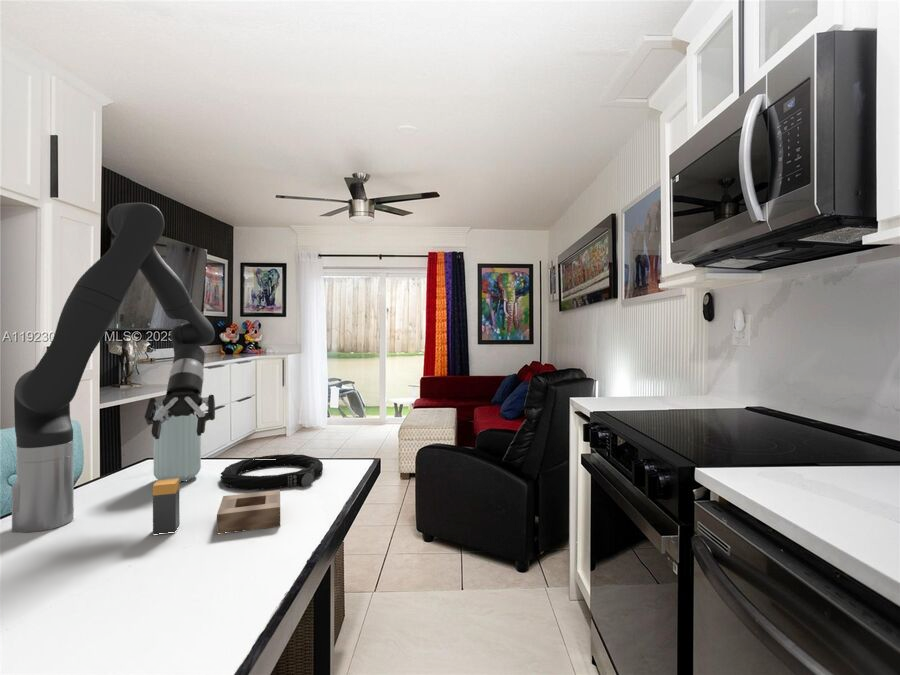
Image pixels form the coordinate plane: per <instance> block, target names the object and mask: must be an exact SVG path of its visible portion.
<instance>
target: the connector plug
mask: <svg viewBox="0 0 900 675" xmlns="http://www.w3.org/2000/svg"><path fill="white" fill-rule="evenodd" d="M180 514H181V513H180V483H179V478H175V479H164V480H158V479H156V481H155V483H154V484H152V535H153V534H159V533H168V532H175V531H176V530H177V531H178V529H179V528H180V526H179V525H180V524H181V523H180V518H181V517H180ZM178 527H179V528H178ZM177 528H178V529H177ZM177 531H176V532H177Z"/></svg>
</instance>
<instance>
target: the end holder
mask: <svg viewBox="0 0 900 675" xmlns="http://www.w3.org/2000/svg"><path fill="white" fill-rule="evenodd" d="M275 527H281V489H277V490H276V489H274V490H267V491H259V492H258V491H257V492H249V493H239V494H230V495H222V499H221V502H220V504H219V508H218V511H217V513H216V534H217V533H224V534H226V533H225V532H232V533H236V532H235V531H239V532H244V531H243V530H247V531H253V530H252V529H255V530H259V529H258V528H262V529H269V528H275Z"/></svg>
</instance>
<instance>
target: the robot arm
mask: <svg viewBox="0 0 900 675" xmlns="http://www.w3.org/2000/svg"><path fill="white" fill-rule="evenodd" d="M106 219H107V226H108V227H109V229H110V231H111V233H112V234H113V235H114V237H115V239H114V241H113V242H112V244H111V246H110V247H109V249H108V250H107V251H106V252H105V253H104V254H103V255H102V256H101V257H100V258H99V259H98V260H97V261H95V262H94V263H93V264H92V265H91V266H90V267H89V268H88V269H87V270H86V271H85V272H84V273H83V274H82V275H81V276H80V277H79V279H78V280H77V282H75V284H74V287H73V289H72V290H71V292H70V294H69V296H68V297H67V299H66V301H65V303H64V305H63V307H62V309H61V312H60V316H59V318H58V322H57V325H56V329H55V332H54V336H53V338H52V340H51V342H50V345H49V346H48V348H47V350H46V351H45V352H44V354H43V356H42V357H41V358H40V360H39V362H38V363H37V364H36V366H35V367H34V368H33V369H30V370H28V371H27V372H25V373H23V374H22V375H21V376H20V377H19V378H18V380H17V381H16V383H15V386H14V391H13V392H14V393H13V395H14V396H13V404H14V405H13V406H14V407H13V408H14V409H13V410H14V432H15V438H16V442H15V443H16V483H14V484H12V485H11V532H22V533H33V532H42V531H47V530H51V529H55V528H59V527H61V526H64V525H67V524H69V523H71V522H72V521H73V520H74V512H75V508H74V507H75V506H74V504H75V503H74V491H75V490H74V428H73V425H72V420H71V406H70V405H71V404H70V403H71V402H72V401H73V400H74V399H75V396H76V394H77V392H78V388H79V386H80V383H81V381H82V380H81V379H82V378H83V375H84V372H85V370H86V367H87V365H88V364H89V361H90V358H91V356H92V354H93V353H94V351H95V349H96V348H97V346H98V345H99V343H100V342H101V340H102V339H103V337H104V335H105V334H106V333H107V331H108V329H109V327H110V325H111V324H112V322H113V320H114V319H115V317H116V315H117V313H118V311H119V309H120V307H121V305H122V303H123V302H124V299H125V297H126V295H127V292H128V291H129V289H130V287H131V285H132V283H133V282H134V280H135V279H136V276H137V274H138V272H139V271H140V272H141V273H142V275H143V277H144V278H145V280H146V281H147V283H148V284H149V286H150V287H151V290H152V291H153V293H154V295H155V296H156V298H157V301H158V302H159V305H160V306H161V308H162V310H163V311H164V314H165V315H166V317H167V318H168V319H171V320H184V321H186V322H184V323H180V324H176V325H175V326H174V327H173V328H172V329H171V330H170V335H169V336H170V340H171V345H172V347H173V360H172V367H171V369H170V371H169V377H168V382H167V386H166V387H167V388H166V394H165V397H164V398H163V399H157V400H156V398H154V397H151V398H149V400H148V404H147V406H146V411H145V413H144V420H145V422H146V425H147V426H150V425H152V426H151V436H152V437H155V439H159V438H160V432H161V424H163V423H164V422H165V421H166V420H169V419H170V418H171V417H172V416H174V417H178V416H189V415H190V414H193V415H194V416H195V417H196V418H197V419H198V423H197V435H198V436H202V434H204V433H205V432H206V424H207V422H208V421H214V420H215V419H216V402H215V401H216V400H215V395H214V394H209V395H208V396H207V397H202V391H203V386H204V385H203V384H204V381H205V380H204V365H205V357H206V356H205V354H206V353H205V351H204V349H203V348H202V347H201V346H205V345H209V344H211V343H213V341H214V340H215V337H216V335H215V334H216V332H215V329H214V327H213V325H212V323H211V322H210V320H208V318H207V317H206V316H204V314H203V313H202V312H201V311H200V310H199V309H198V307H196V305H195V304H194V302H193V300H192V298H191V296H190V294H189V292H188V290H187V289H186V286H185V285H184V283H183V281H182V280H181V278H180V277H179V275H177V274H176V273H175V271H174V270H173V269H172V268H171V267H170V266H169V265H168V264H167V263H166V261H165V260H164V259H163V257H161V256H162V255H160V253H159V252H158V250H157V249H156V247H155V246H156V244H157V243H158V241H159V240H160V238H161V237H162V235H163V234H164V230H165V218H164V215H163V213H162V212H161V210H160V209H159V208H158V207H157V206H155V205H153V204H150V203H148V202H147V203H146V202H125V203H118V204H116V205H114V206H112V207H111V209H110V210H109V211H108V213H107V218H106ZM203 404H205V406H206V407H207V409H208V410H207V412H204V411H203V410H202V409H201V406H202V405H203ZM160 406H164V407H163V408H162V409H161V410H160V412H159V413H158V414H157V415H156V416H155V412H156V410H158V409H159V408H160ZM199 407H200V408H199ZM167 412H168V413H167ZM154 416H155V417H154Z"/></svg>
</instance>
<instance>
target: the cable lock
mask: <svg viewBox="0 0 900 675" xmlns="http://www.w3.org/2000/svg"><path fill="white" fill-rule="evenodd" d="M253 459H254V460H253ZM255 459H276V460H255ZM290 465H292V466H291V467H295V466H296V467H297V466H298V467H302V468H303V469H300V470H298V471H297V470H296V471H293V472H286V473H281V474H272V475H271V474H270V475H268V474H267V475H246V474H242V473H245V472H247V471H246V470H249V471H252V470H251V469H253V470H256V469H255V468H257V469H259V468H258V467H264V468H268V467H281V466H290ZM267 466H268V467H267ZM323 470H324V464H323V462H322V461H321V460H320V459H319V458H318V457H313V456H309V455H305V454H294V453H289V454H271V455H263V456H254V457H250V458H248V459H242V460H240V461H237V462H235V463H232V464H229V465H228V466H226V467H225V468H224V469H223V471H222V472H221V473H220V474H221V476H220V480H221V482H222V483H223V484H225V485H226V486H227V487H230V486H231V487H232V488H234V487H235V488H234V489H237V488H239V490H240V489H241V490H249V489H260V490H273V489H274V490H276V489H281V488H289V487H290V488H292V487H299V488H300V487H308V486H309V487H310V486H311V485H312V484H313V482H314V479H316V478H317V477H318V476H320V474H322V472H323ZM244 471H245V472H244ZM239 473H240V474H239ZM275 488H276V489H275Z"/></svg>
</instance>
